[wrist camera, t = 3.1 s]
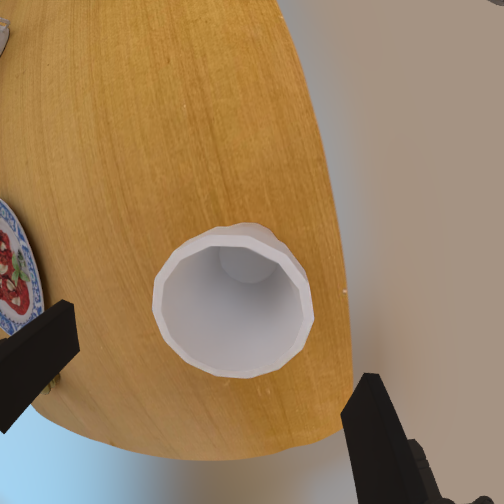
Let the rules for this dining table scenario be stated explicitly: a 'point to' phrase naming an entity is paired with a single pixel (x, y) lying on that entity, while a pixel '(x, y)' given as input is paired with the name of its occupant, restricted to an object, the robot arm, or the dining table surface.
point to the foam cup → (234, 302)
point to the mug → (3, 34)
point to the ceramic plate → (17, 275)
